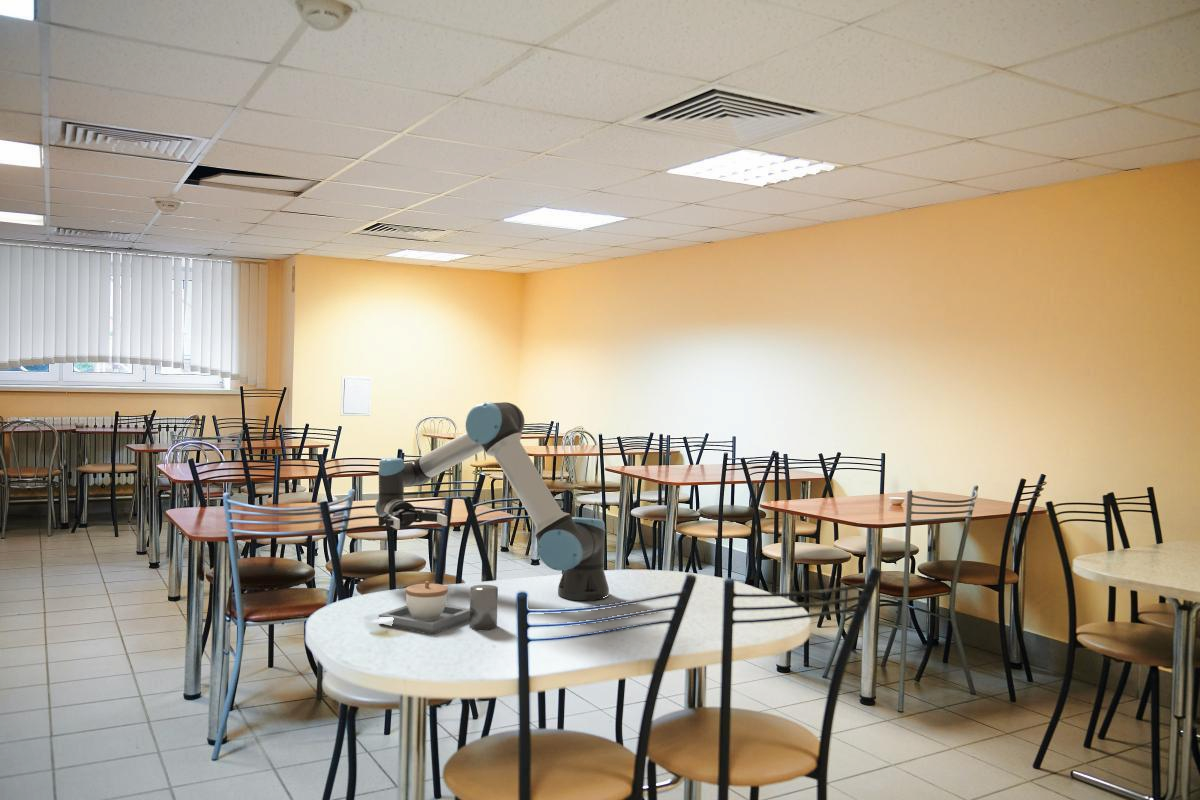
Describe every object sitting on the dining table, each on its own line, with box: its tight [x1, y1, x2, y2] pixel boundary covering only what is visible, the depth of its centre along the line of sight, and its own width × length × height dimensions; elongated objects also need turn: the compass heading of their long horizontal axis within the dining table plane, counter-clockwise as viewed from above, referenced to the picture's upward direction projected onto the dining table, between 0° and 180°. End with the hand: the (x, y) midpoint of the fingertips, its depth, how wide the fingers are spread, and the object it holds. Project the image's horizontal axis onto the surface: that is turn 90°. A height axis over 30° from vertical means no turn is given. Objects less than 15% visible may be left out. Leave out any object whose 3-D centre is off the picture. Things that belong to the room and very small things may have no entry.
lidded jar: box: [405, 580, 449, 621], centre depth 228 cm, size 11×11×9 cm
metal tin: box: [468, 584, 499, 631], centre depth 225 cm, size 7×7×10 cm
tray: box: [378, 604, 470, 635], centre depth 228 cm, size 17×17×2 cm
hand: (422, 522), depth 244 cm, fingers open, 13 cm apart
